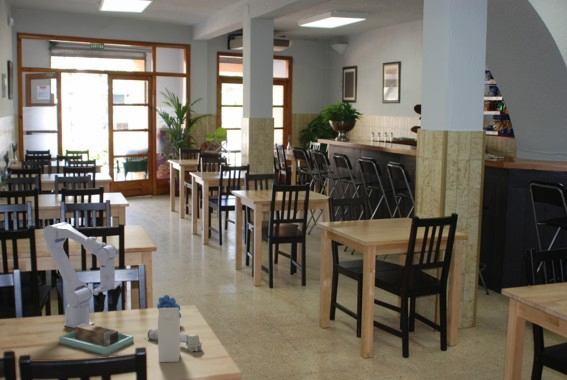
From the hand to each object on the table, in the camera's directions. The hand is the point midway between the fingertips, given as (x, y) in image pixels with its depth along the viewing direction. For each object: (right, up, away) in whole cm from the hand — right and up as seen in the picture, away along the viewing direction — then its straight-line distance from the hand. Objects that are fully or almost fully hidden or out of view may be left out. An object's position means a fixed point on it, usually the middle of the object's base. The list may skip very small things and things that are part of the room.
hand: (108, 307), depth 259 cm
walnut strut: (-1, -11, -13) cm, 17 cm away
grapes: (+23, -9, +9) cm, 26 cm away
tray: (-1, -11, -13) cm, 17 cm away
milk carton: (+30, -14, -27) cm, 43 cm away
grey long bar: (+30, -12, -14) cm, 35 cm away
